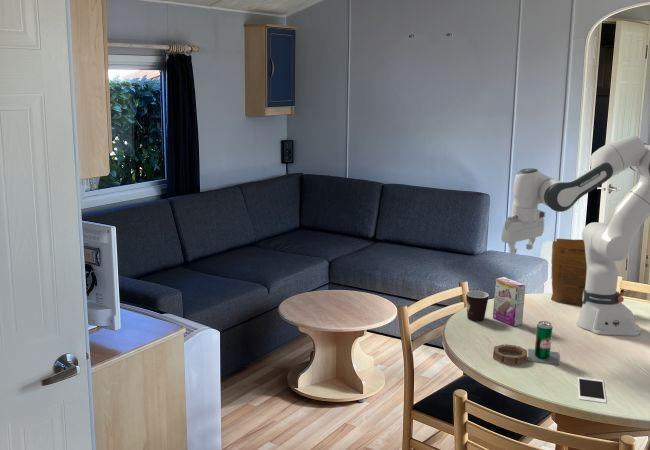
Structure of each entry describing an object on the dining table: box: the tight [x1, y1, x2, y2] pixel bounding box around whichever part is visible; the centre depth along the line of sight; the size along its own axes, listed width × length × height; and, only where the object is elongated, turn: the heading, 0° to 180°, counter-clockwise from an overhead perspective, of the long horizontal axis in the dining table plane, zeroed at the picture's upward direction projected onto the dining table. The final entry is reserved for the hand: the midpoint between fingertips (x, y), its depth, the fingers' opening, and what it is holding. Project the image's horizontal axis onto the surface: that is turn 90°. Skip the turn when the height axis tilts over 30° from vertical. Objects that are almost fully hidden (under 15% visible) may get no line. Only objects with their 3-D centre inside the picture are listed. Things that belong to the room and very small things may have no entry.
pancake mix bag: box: [550, 238, 587, 307], centre depth 297 cm, size 7×19×28 cm, turn 68°
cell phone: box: [577, 376, 607, 404], centre depth 223 cm, size 8×16×1 cm, turn 163°
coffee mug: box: [465, 290, 490, 323], centre depth 281 cm, size 12×9×10 cm
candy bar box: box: [492, 276, 526, 328], centre depth 277 cm, size 11×5×16 cm, turn 34°
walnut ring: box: [492, 344, 528, 366], centre depth 245 cm, size 11×11×2 cm
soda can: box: [534, 320, 553, 359], centre depth 245 cm, size 5×5×12 cm
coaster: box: [527, 348, 560, 366], centre depth 246 cm, size 10×10×1 cm
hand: (521, 251), depth 261 cm, fingers open, 8 cm apart
